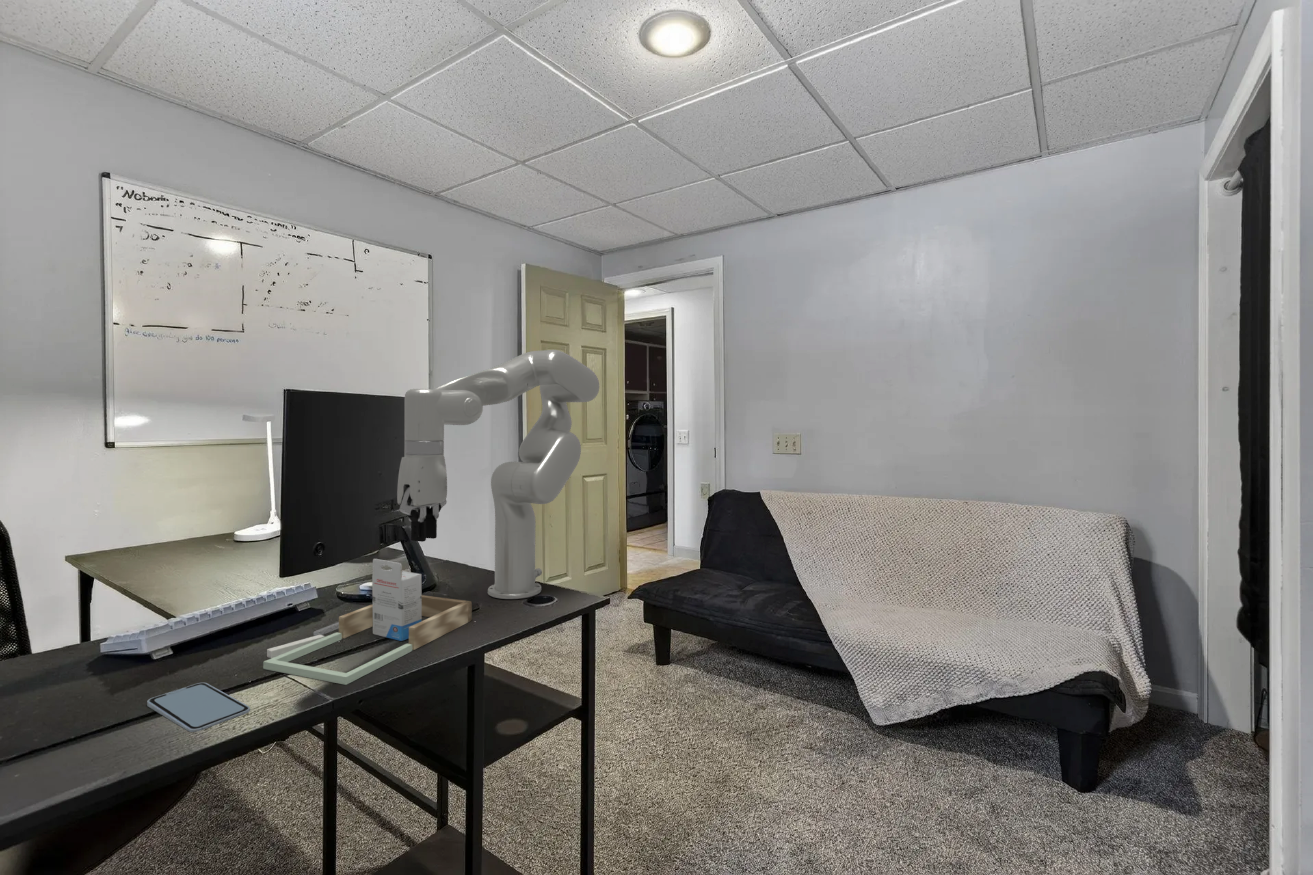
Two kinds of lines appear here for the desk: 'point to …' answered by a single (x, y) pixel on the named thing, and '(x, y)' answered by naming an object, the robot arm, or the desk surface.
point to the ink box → (395, 600)
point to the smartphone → (197, 706)
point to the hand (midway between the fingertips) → (424, 538)
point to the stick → (291, 646)
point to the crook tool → (326, 629)
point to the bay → (284, 666)
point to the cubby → (441, 621)
